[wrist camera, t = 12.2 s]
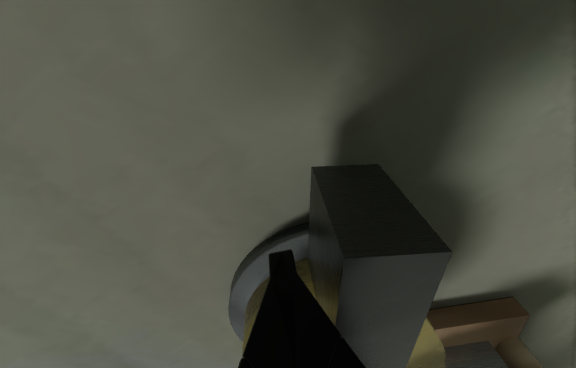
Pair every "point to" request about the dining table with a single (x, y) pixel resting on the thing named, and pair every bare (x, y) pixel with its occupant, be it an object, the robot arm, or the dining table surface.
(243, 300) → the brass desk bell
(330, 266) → the brass disc with block
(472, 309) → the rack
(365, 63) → the dining table surface
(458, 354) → the long grey slab
